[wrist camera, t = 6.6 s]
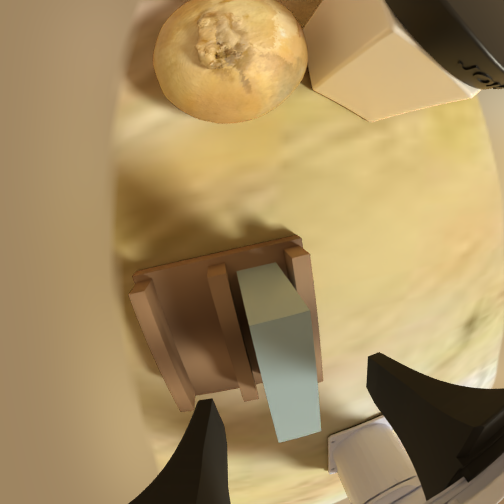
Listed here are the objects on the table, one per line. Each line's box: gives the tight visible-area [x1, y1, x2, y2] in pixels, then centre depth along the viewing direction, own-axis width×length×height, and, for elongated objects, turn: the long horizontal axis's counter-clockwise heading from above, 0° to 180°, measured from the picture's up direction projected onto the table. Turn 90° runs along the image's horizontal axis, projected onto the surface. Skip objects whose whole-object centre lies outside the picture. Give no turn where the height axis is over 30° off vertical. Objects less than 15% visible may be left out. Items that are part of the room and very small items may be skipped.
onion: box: [153, 0, 308, 124], centre depth 11 cm, size 8×8×7 cm
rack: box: [128, 235, 323, 412], centre depth 17 cm, size 10×10×3 cm
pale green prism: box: [236, 262, 321, 443], centre depth 15 cm, size 8×2×6 cm, turn 11°
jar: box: [303, 0, 504, 122], centre depth 9 cm, size 9×8×12 cm
